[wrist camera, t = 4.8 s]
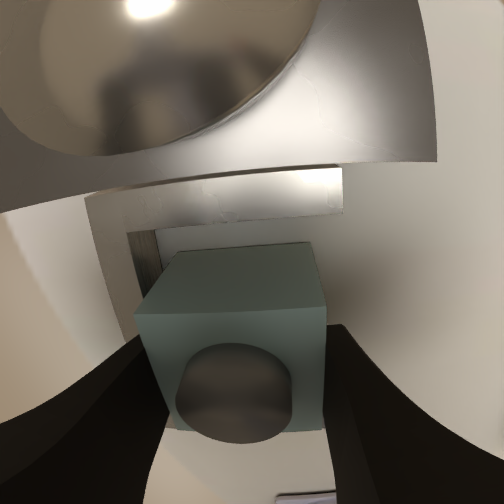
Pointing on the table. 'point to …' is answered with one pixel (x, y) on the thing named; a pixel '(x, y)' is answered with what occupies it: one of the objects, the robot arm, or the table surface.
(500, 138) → the table surface
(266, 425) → the pale blue block
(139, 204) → the motor mount
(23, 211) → the table surface
